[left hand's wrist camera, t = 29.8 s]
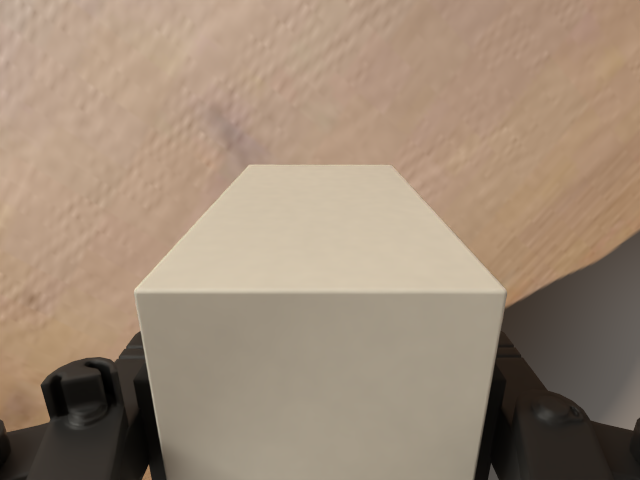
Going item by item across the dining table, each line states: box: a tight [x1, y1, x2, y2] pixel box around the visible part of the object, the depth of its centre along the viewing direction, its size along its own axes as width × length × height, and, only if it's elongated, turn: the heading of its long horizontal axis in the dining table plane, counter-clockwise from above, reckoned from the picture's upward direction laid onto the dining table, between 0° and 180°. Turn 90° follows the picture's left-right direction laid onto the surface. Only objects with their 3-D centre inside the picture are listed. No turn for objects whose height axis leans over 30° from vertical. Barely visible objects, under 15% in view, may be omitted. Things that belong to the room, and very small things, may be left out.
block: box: [134, 165, 507, 480], centre depth 13 cm, size 8×6×11 cm
